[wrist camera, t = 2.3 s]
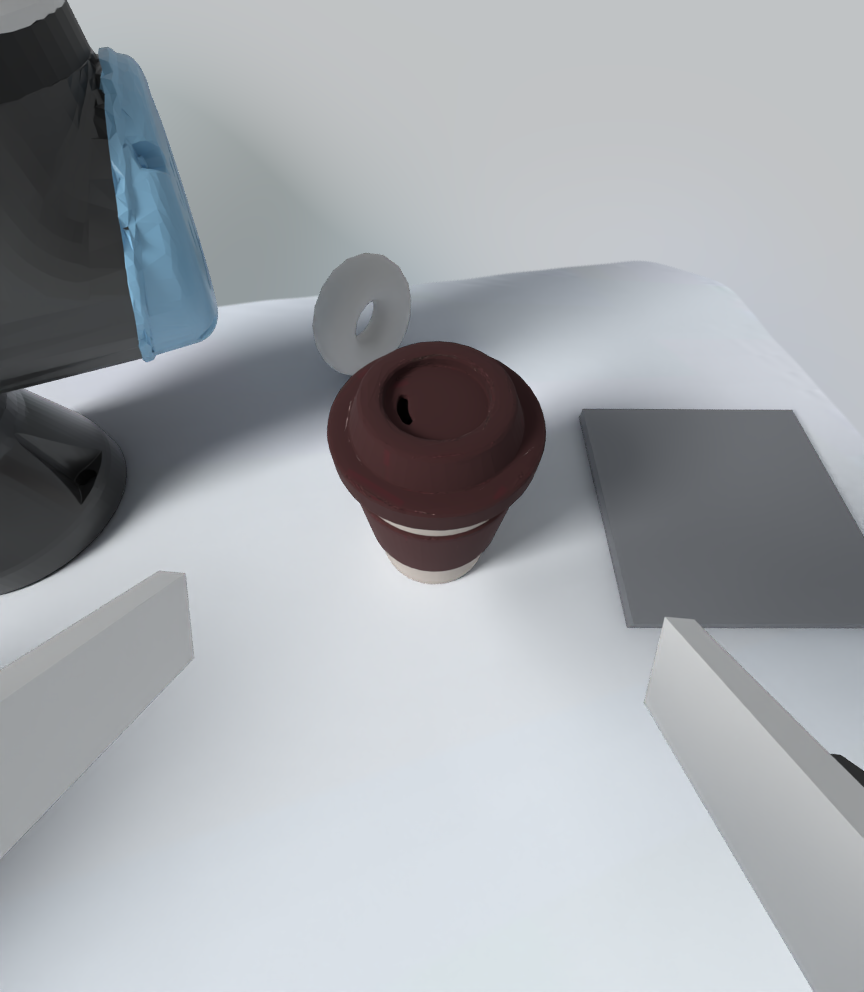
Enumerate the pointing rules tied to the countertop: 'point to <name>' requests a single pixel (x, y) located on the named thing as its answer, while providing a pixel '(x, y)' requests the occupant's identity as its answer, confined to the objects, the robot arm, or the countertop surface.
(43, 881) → the countertop surface
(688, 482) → the mat
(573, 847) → the countertop surface
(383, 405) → the coffee cup
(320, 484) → the countertop surface
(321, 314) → the donut
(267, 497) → the countertop surface
